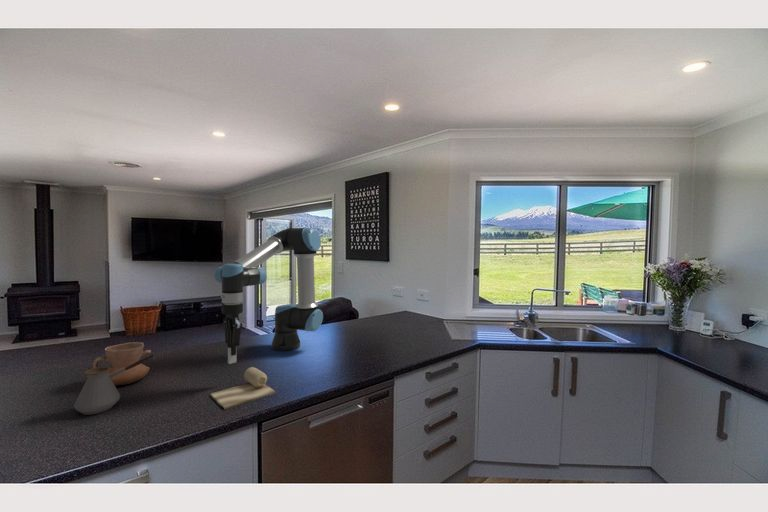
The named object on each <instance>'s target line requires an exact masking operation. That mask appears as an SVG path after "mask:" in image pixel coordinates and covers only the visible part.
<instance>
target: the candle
mask: <svg viewBox="0 0 768 512" xmlns="http://www.w3.org/2000/svg"><path fill="white" fill-rule="evenodd" d="M243 378H244V380H245V381H246V382H248V383H251V384H252V385H253V386H255V387H257V388H260V387H262V386H264V385H265V384H266V383H267V381H268V376H267V374H266V373H264V372H263V371H261V370H260V369H259V368H256V367H254V366H251V367H250V366H249V367H248V368H247V369H246V370H245V371H244V374H243Z"/></svg>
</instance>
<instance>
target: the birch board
mask: <svg viewBox="0 0 768 512" xmlns="http://www.w3.org/2000/svg"><path fill="white" fill-rule="evenodd" d="M274 393H276V391H275V390H274V389H273V388H271V387H270V386H269V385H267V384H266V383H265V385H264V386H262V387H260V388H257V387H255V386H253V385H252V384H251V383H249V382H248V383H244V384H240V385H237V386H233V387H229V388H226V389H223V390H219V391H215V392H211V393H210V397H211V398H212V399H213V400H215V402H216V403H217V404H218V405H219V406H220V407H221V406H222V407H223V408H224V409H225V410H228V409H230V407H231V408H234V407H237V405H238V406H240V404H241V405H243V403H244V404H246V402H247V403H250V402H253V401H256V399H257V400H260V399H263V398H266V397H268V395H269V396H273V395H275V394H274ZM265 396H266V397H265ZM262 397H263V398H262ZM259 398H260V399H259ZM249 401H250V402H249ZM233 406H234V407H233ZM222 407H221V408H222ZM223 408H222V409H223ZM227 408H228V409H227ZM224 409H223V410H224Z"/></svg>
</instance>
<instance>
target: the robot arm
mask: <svg viewBox="0 0 768 512" xmlns="http://www.w3.org/2000/svg"><path fill="white" fill-rule="evenodd" d="M321 246H322V240H321V236H320V233H319V232H318V231H317V229H315V228H314V227H313V228H311V227H295V228H294V227H289V228H288V227H287V228H285V229H283V230H280V231H278V232H276V233H274V234H273V235H271V236H269V237H268V238H267V241H265V242H264V243H262V244H260V245H258V246H257V247H256V248H254V249H253V250H251V251H249V252H248V253H246V254H245V255H243V256H241V257H240V258H238V259H237V260H235V261H234V262H232V263H224V264H223V265H221V266H218V267H217V268H216V269H215V271H214V280H216V282H218V283H220V284H221V295H220V298H221V303H222V304H221V314H222V315H225V318H222V321H223V322H222V323H223V327H224V329H223V330H224V341H225V344H226V346H227V364H229V365H231V364H235V363H237V347H239V346H240V341H241V333H242V327H243V322H240V317H239V314H242V313H243V311H244V308H243V307H244V306H243V305H244V304H243V302H244V287H251V286H258V285H262V284H264V283H265V282H266V281H267V272H266V269H264V268H263V267H260V265H261V264H263V263H265V262H266V261H267V260H269V259H270V258H272V257H273V256H275V255H276V254H277V255H278V254H281V253H282V252H286V251H293V255H294V256H295V257H296V269H297V270H296V272H297V273H296V274H297V275H296V276H297V296H298V297H297V298H298V299H297V301H298V302H297V303H290V304H289V303H288V304H281V305H278V306H276V307H275V310H274V312H275V313H274V335H273V338H272V341H271V347H270V348H271V349H272V350H274V351H279V352H281V351H284V352H286V351H293V350H296V349H298V348H300V347H301V340H300V337H299V334H298V330H299V331H306V332H315V331H317V330H318V329H319V328H320V327H321V325H322V322H323V320H324V314H323V311H322V310H321V309H319V304H318V303H317V302H316V292H315V291H316V290H315V289H316V288H315V285H316V284H315V261H314V260H315V259H314V258H315V256H316V255H317V251H319V250H320V248H321Z"/></svg>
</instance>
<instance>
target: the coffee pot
mask: <svg viewBox="0 0 768 512" xmlns="http://www.w3.org/2000/svg"><path fill="white" fill-rule="evenodd" d="M152 358H153V359H154V361H155V360H156V358H155V355H154V354H152V355H151V354H150V355H149V356H146V357H145V358H142V359H141V360H140V359H139V361H137V362H135V363H134V364H132V365H130V366H128V367H126V368H125V369H123V370H120V371H118V372H116V373H114V374H112V375H110V376H109V375H108V373H109V370H110V369H111V367H110V366H100V367H99V366H98V368H93V367H92V368H90V369H88V370H86V371H85V372H84V375H86V378H87V379H86V381H85V383H84V384H83V387H82V389H81V390H80V393H79V395H78V396H77V398H76V400H75V402H74V404H73V408H74V409H75V411H77V412H79V413H81V414H82V415H85V416H86V415H90V416H91V415H96V414H100V413H104V412H106V411H108V410H111V409H112V408H113V406H114V405H116V404H117V403H118V402H119V400H120V398H121V394H120V392H119V390H118V389H117V387H116V386H115V385H114V384H113V382H112V380H111V379H110V378H112V377H114V376H116V375H118V374H120V373H122V372H124V371H126V370H128V369H130V368H133V367H135V366H137V365H139V364H143V363H144V362H145V361H146V362H147V361H148V360H149V359H152Z"/></svg>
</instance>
